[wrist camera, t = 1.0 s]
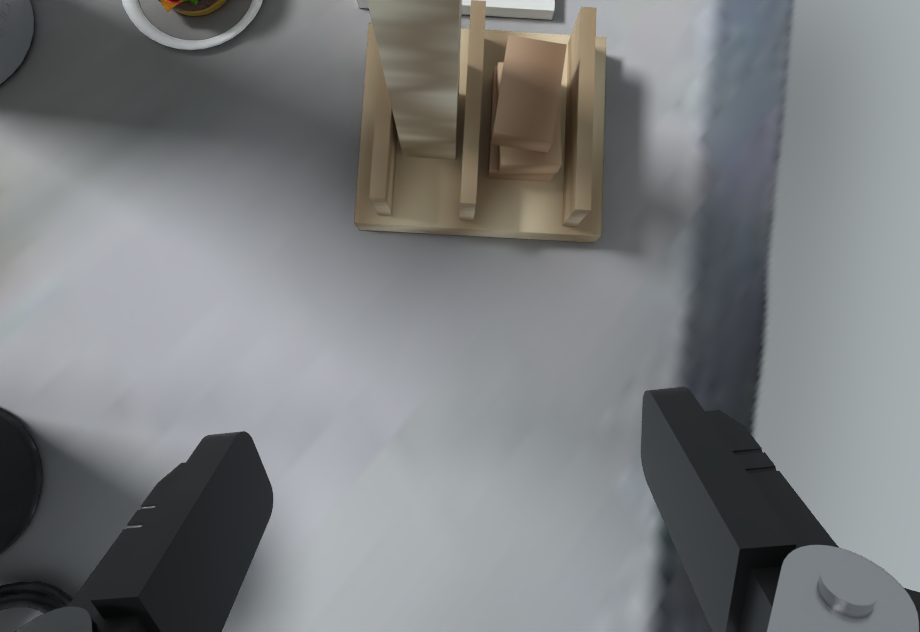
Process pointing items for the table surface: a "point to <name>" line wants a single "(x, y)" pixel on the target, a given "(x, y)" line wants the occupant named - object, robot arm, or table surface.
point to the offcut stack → (526, 111)
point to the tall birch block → (421, 71)
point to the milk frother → (21, 512)
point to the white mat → (507, 8)
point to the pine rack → (466, 178)
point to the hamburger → (194, 4)
